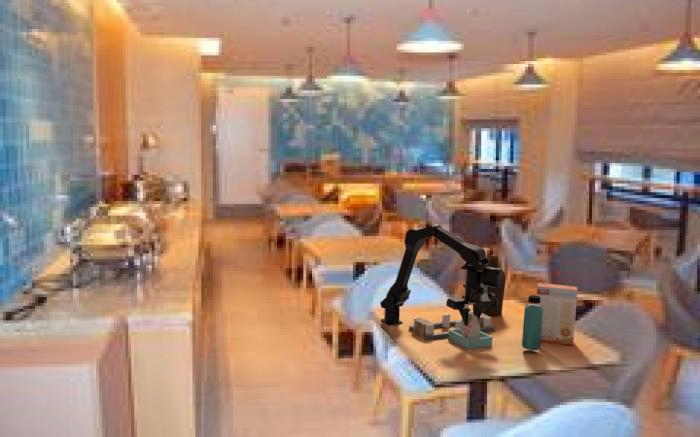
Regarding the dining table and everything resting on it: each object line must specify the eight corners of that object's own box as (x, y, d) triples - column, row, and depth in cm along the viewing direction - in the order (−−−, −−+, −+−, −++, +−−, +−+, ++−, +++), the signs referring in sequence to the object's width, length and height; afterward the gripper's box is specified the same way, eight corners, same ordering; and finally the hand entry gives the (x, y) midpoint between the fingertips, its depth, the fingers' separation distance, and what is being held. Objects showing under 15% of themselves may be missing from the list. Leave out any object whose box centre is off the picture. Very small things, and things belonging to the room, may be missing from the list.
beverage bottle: (541, 355, 218) (545, 299, 216) (521, 353, 220) (525, 297, 217) (539, 349, 225) (544, 294, 222) (520, 347, 226) (524, 292, 223)
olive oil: (496, 309, 274) (500, 252, 270) (507, 316, 263) (512, 257, 260) (473, 310, 271) (477, 252, 268) (484, 317, 261) (488, 257, 257)
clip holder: (408, 329, 241) (409, 317, 241) (475, 321, 255) (475, 309, 254) (426, 340, 230) (427, 326, 229) (495, 331, 243) (495, 318, 243)
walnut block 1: (414, 332, 239) (415, 319, 238) (423, 331, 240) (424, 318, 240) (422, 337, 233) (423, 324, 233) (432, 336, 235) (432, 323, 234)
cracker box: (573, 341, 235) (577, 286, 232) (573, 346, 229) (578, 289, 226) (533, 335, 240) (538, 281, 237) (532, 340, 234) (537, 285, 231)
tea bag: (467, 336, 233) (470, 310, 231) (478, 343, 227) (481, 316, 225) (459, 337, 232) (461, 311, 230) (470, 344, 226) (473, 317, 224)
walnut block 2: (470, 325, 250) (471, 313, 249) (479, 324, 252) (479, 312, 251) (480, 330, 244) (481, 317, 244) (488, 328, 246) (489, 316, 245)
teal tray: (448, 339, 232) (448, 329, 232) (471, 335, 237) (471, 326, 236) (468, 349, 221) (468, 340, 221) (491, 346, 226) (492, 337, 225)
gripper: (465, 290, 215) (462, 334, 217) (509, 286, 223) (505, 329, 225) (446, 282, 225) (444, 325, 227) (489, 279, 233) (486, 320, 235)
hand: (470, 325), depth 228 cm, fingers closed on tea bag, 4 cm apart
